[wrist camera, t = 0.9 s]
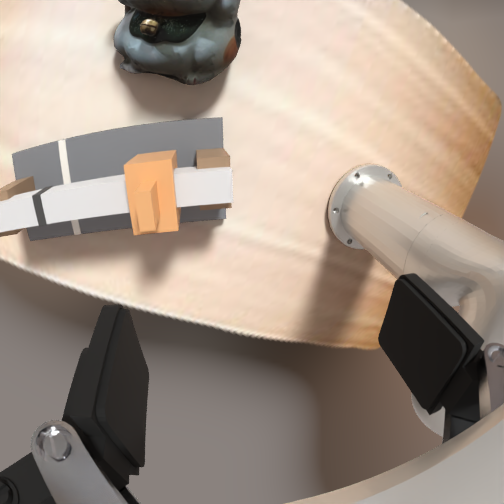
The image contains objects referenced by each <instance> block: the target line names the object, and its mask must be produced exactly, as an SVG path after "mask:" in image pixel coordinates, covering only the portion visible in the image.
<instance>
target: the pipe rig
mask: <svg viewBox="0 0 504 504" xmlns="http://www.w3.org/2000/svg"><path fill="white" fill-rule="evenodd" d="M170 150H176V153H177V167H178V168H175V169H174V180H175V192H176V202H177V207H181V213H180V221H179V223H183V222H193V221H204V220H216V219H226V208H232V207H231V203H233V182H232V169H231V167H230V156H229V155H228V153H227V152H226V151H225V150H224V148H223V121H222V117H220V118H203V119H189V120H178V121H168V122H159V123H151V124H143V125H136V126H130V127H123V128H117V129H111V130H106V131H100V132H95V133H90V134H85V135H81V136H76V137H72V138H67V139H63V140H59V141H55V142H51V143H47V144H44V145H40V146H36V147H33V148H29V149H26V150H23V151H19V152H16V153H13V154H12V158H13V165H14V171H15V177H16V181H14V182H12V183H10V184H8V185H6V186H4V187H3V188H1V189H0V237H2V236H8V235H13V234H17V233H18V232H20V231H21V230H22V229H23V228H27V231H28V235H29V239H30V241H33V240H40V239H47V238H54V237H61V236H69V235H78V234H84V233H92V232H100V231H108V230H117V229H125V228H132V222H131V216H130V209H129V203H128V196H127V189H126V181H125V173H124V164H126V163H127V162H128V161H129V160H131V159H132V158H133V157H135V156H136V155H137V154H144V153H152V152H161V151H170Z"/></svg>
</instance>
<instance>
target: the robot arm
mask: <svg viewBox="0 0 504 504" xmlns="http://www.w3.org/2000/svg"><path fill="white" fill-rule="evenodd" d="M354 175H355V176H354ZM334 208H335V209H334ZM328 220H329V224H330V227H331V229H332V231H333V233H334V235H335V236H336V237H337V238H338V239H339V240H340V241H341V242H342V243H343V244H345V245H346V246H348V247H351V248H354V249H366V250H367V251H368V252H369V253H370V254H371V255H372V256H373V257H374V258H375V259H376V260H378V261H379V262H380V263H381V264H382V265H383V266H384V267H385V268H386V269H387V270H388V271H389V272H390V273H391V274H392V275H393V276H394V277H395V278H396V279H397V280H396V282H395V284H394V288H393V291H392V295H391V298H390V302H389V305H388V309H387V312H386V315H385V318H384V321H383V324H382V327H381V330H380V333H379V337H378V340H379V344H380V346H381V347H382V349H383V350H384V351H385V353H386V354H387V356H388V357H389V359H390V360H391V362H392V363H393V365H394V366H395V368H396V369H397V371H398V372H399V374H400V375H401V377H402V378H403V380H404V381H405V383H406V384H407V386H408V387H409V389H410V390H411V392H412V403H413V407H414V410H415V412H416V414H417V415H418V417H419V418H420V420H421V421H422V422H423V423H424V424H425V425H426V426H427V427H428V428H429V429H431V430H432V431H434V432H435V433H437V434H438V435H441V436H443V442H442V444H441V445H440V446H438V447H436V448H434V449H432V450H431V451H429V452H427V453H425V454H423V455H421V456H419V457H417V458H415V459H413V460H411V461H409V462H407V463H405V464H403V465H400V466H398V467H396V468H394V469H392V470H389V471H387V472H385V473H382V474H380V475H377V476H375V477H372V478H370V479H367V480H364V481H362V482H359V483H356V484H353V485H350V486H348V487H345V488H341V489H338V490H335V491H332V492H328V493H325V494H321V495H318V496H314V497H310V498H307V499H303V500H298V501H294V502H289V503H285V504H504V241H502V240H500V239H498V238H496V237H494V236H492V235H490V234H488V233H487V232H485V231H483V230H481V229H479V228H477V227H475V226H474V225H472V224H470V223H468V222H467V221H465V220H463V219H461V218H460V217H458V216H456V215H454V214H452V213H450V212H449V211H447V210H445V209H443V208H441V207H439V206H438V205H436V204H434V203H432V202H430V201H428V200H426V199H424V198H422V197H420V196H418V195H416V194H414V193H412V192H410V191H408V190H406V189H404V188H402V185H401V183H400V181H399V179H398V178H397V177H396V175H395V174H394V173H393V172H392V171H390V170H389V169H387V168H385V167H383V166H380V165H376V164H365V165H360V166H358V167H355V168H353V169H352V170H350V171H349V172H347V173H346V174H345V175H344V176H343V177H342V178H341V179H340V180H339V182H338V183H337V184H336V186H335V188H334V190H333V192H332V194H331V197H330V200H329V206H328ZM459 305H460V309H459V312H458V313H457V312H456V311H455V310H454V309H453V308H452V306H459ZM148 382H149V372H148V367H147V364H146V362H145V359H144V356H143V353H142V350H141V347H140V344H139V341H138V338H137V334H136V331H135V328H134V325H133V321H132V318H131V315H130V312H129V310H128V309H123V306H122V305H104V306H103V308H102V310H101V313H100V316H99V318H98V321H97V324H96V327H95V330H94V333H93V336H92V338H91V342H90V345H89V348H85V349H83V351H82V353H81V356H80V358H79V362H78V365H77V368H76V371H75V374H74V378H73V381H72V384H71V388H70V392H69V395H68V399H67V403H66V406H65V410H64V414H63V418H62V421H60V420H51V421H48V422H45V423H43V424H42V425H40V426H39V427H38V428H37V429H36V431H35V432H34V434H33V436H32V439H31V450H32V452H31V453H29V454H28V455H26V456H25V457H23V458H22V459H20V460H19V461H17V462H16V463H14V464H13V465H11V466H9V467H8V468H6V469H5V470H3V471H2V472H0V504H141V502H140V501H139V500H138V499H137V498H136V497H135V495H134V494H133V493H132V492H131V490H130V489H129V488H128V487H127V484H129V475H139V467H144V464H145V431H146V411H147V396H148Z"/></svg>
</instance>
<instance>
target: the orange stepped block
mask: <svg viewBox="0 0 504 504" xmlns="http://www.w3.org/2000/svg"><path fill="white" fill-rule="evenodd" d="M175 168H178V167H177V153H176V150H170V151H161V152H152V153H144V154H137V155H136V156H135V157H133V158H132V159H131V160H129V161H128V162H127V163H126V164H124V173H125V181H126V189H127V196H128V203H129V209H130V216H131V222H132V228H133V233H134V235H142V234H151V233H161V232H171V231H178V230H179V221H180V213H181V207H177V202H176V192H175V180H174V169H175Z"/></svg>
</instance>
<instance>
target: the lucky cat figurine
mask: <svg viewBox="0 0 504 504" xmlns="http://www.w3.org/2000/svg"><path fill="white" fill-rule="evenodd" d="M118 1H119V2H120V3H122V4H124V5H125V17H124V18H123V20H122V21H121V22H120V24H119V26H118V28H117V29H116V32H115V35H114V46H115V48H116V49H117V51H118V52H119V53H120V54H122V55H123V57H124V58H125V60H124V61H123V62H122V63H121V64H120V68H122V69H124V70H126V71H128V72H130V73H154V74H159V75H162V76H165V77H168V78H171V79H174V80H177V81H179V82H181V83H184V84H189V85H195V84H201V83H204V82H206V81H209V80H211V79H212V78H214V77H215V76H216V75H218V74H219V73H221V72H222V71H223V70H224V69H225V68H226V67H227V66H228V65H229V64H230V63H231V62H232V61H233V60H234V58H235V57H236V55H237V53H238V50H239V47H240V44H241V38H240V37H241V27H240V22H239V19H238V18H237V13H238V8H239V4H240V0H118Z"/></svg>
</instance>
